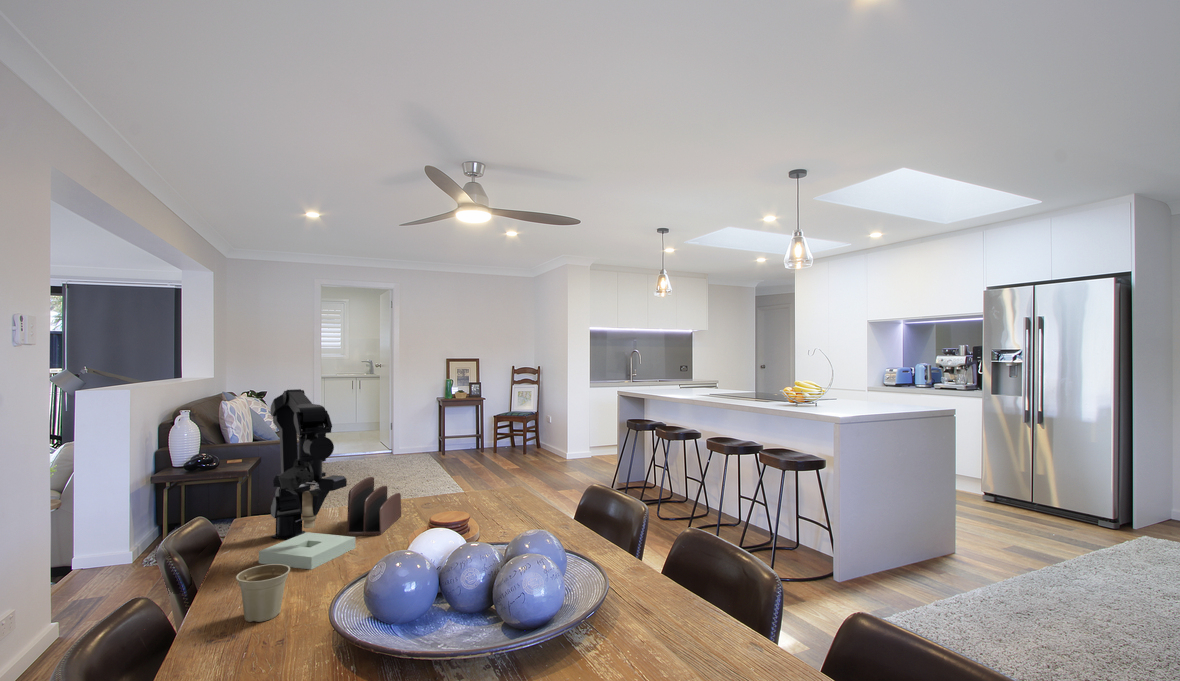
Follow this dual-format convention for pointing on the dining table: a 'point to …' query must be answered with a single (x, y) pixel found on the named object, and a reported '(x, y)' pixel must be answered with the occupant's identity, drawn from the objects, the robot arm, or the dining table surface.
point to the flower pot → (262, 591)
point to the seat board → (307, 550)
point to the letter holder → (371, 509)
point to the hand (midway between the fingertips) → (309, 514)
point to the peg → (308, 510)
